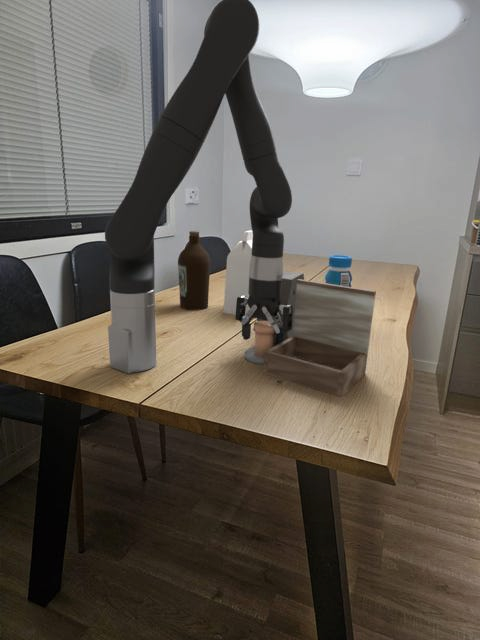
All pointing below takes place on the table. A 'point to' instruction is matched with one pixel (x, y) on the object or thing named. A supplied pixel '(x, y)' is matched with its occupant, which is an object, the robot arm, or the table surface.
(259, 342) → the round cabinet knob
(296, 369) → the hinged wooden box
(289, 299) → the planter
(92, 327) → the table surface
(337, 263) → the beverage bottle
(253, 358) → the saucer
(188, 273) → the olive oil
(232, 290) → the milk
